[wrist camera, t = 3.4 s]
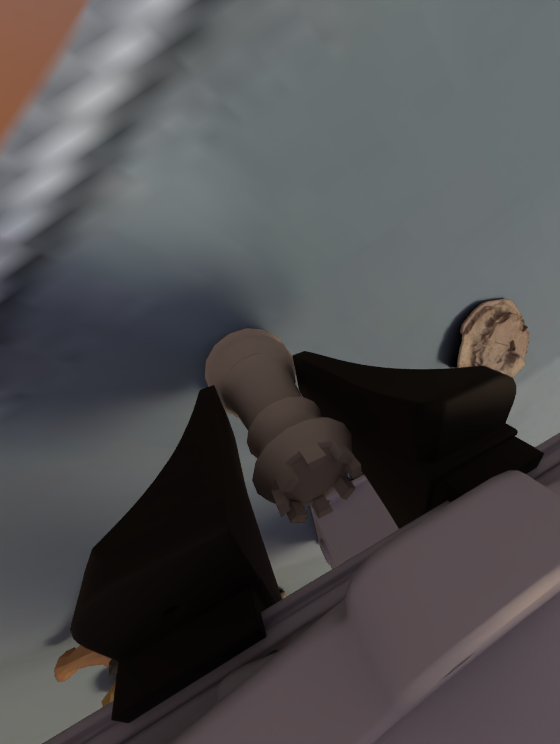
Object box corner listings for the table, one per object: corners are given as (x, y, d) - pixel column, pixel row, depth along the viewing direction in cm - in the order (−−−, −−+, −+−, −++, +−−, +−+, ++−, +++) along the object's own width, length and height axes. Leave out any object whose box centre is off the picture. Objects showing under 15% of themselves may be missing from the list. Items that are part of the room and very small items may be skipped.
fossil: (484, 393, 22) (494, 330, 23) (542, 395, 18) (551, 321, 19) (425, 361, 19) (440, 291, 20) (481, 357, 15) (496, 272, 16)
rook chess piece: (300, 357, 14) (412, 456, 8) (250, 414, 15) (314, 554, 8) (242, 306, 12) (333, 388, 5) (184, 376, 12) (198, 535, 6)
